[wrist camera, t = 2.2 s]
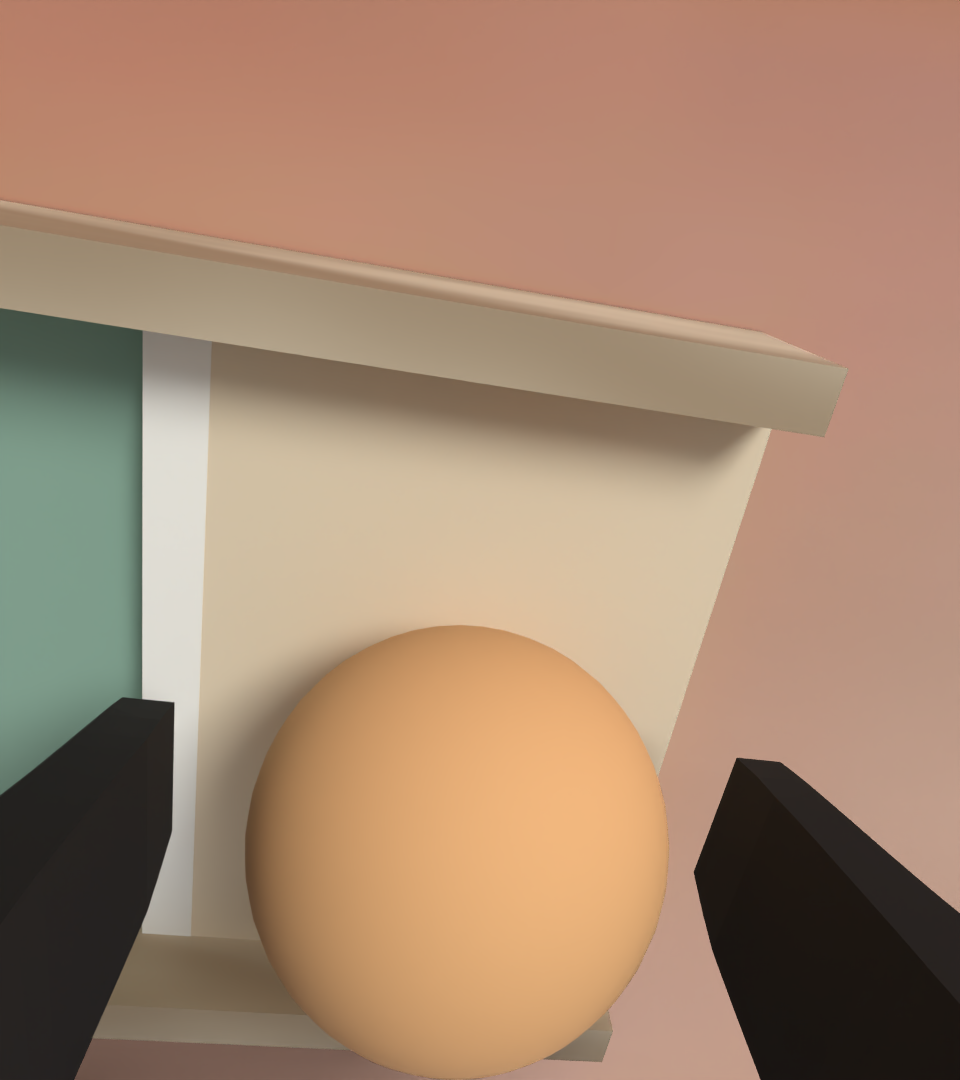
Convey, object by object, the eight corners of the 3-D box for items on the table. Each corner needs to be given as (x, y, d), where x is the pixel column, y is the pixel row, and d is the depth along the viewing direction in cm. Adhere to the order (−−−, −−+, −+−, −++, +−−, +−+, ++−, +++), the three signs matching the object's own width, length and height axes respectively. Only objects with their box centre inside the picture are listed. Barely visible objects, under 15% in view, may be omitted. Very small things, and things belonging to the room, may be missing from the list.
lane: (575, 935, 16) (587, 992, 15) (-375, 871, 14) (-447, 931, 12) (760, 331, 11) (798, 347, 10) (-647, 87, 9) (-799, 73, 8)
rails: (575, 935, 16) (601, 1061, 13) (-375, 871, 14) (-537, 1009, 11) (760, 331, 11) (849, 368, 9) (-647, 87, 9) (-1014, 52, 7)
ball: (576, 845, 13) (656, 1193, 9) (272, 821, 13) (186, 1180, 8) (652, 582, 11) (808, 850, 7) (297, 536, 11) (200, 798, 6)
